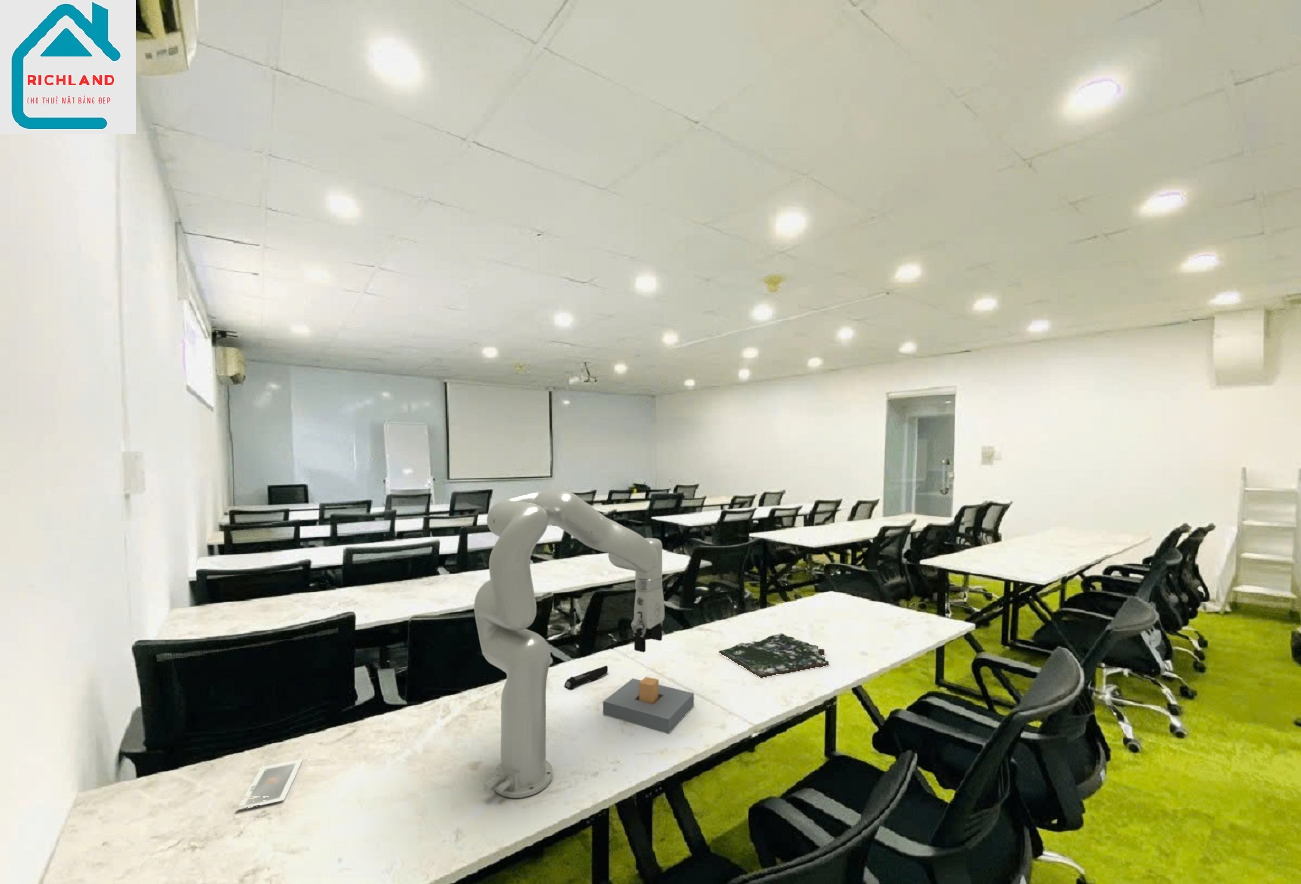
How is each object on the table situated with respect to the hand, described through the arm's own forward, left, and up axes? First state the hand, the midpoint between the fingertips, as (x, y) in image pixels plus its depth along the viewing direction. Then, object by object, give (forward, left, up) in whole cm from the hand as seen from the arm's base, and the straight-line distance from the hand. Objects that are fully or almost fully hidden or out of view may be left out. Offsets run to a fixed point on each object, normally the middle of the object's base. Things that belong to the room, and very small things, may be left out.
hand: (648, 645), depth 137 cm
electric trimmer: (+7, +26, -18) cm, 33 cm away
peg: (0, 0, -18) cm, 18 cm away
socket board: (0, 0, -18) cm, 18 cm away
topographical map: (+53, -23, -19) cm, 61 cm away
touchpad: (-66, +56, -19) cm, 88 cm away
